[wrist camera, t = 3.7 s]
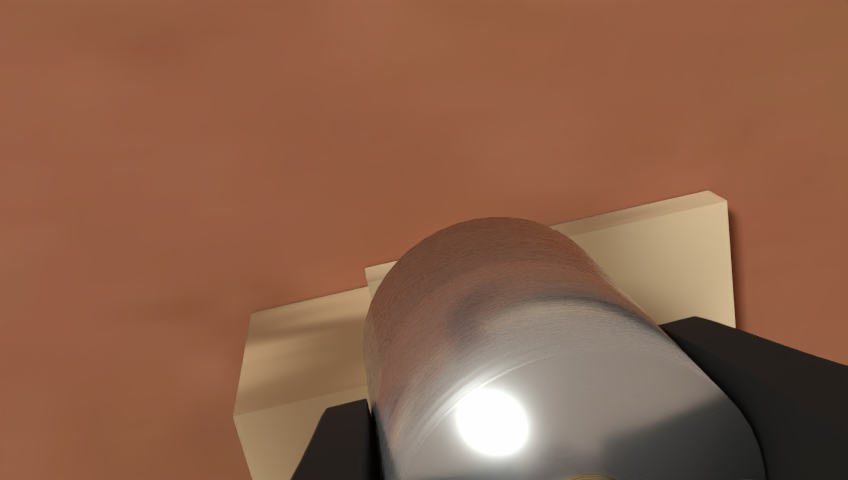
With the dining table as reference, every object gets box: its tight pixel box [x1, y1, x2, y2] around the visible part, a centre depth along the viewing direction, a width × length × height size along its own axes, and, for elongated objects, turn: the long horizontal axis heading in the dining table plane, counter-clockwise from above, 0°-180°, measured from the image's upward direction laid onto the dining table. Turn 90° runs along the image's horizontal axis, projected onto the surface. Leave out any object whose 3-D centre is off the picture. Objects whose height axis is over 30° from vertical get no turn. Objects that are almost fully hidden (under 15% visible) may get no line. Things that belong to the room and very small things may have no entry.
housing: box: [363, 217, 766, 480], centre depth 11 cm, size 4×4×5 cm
